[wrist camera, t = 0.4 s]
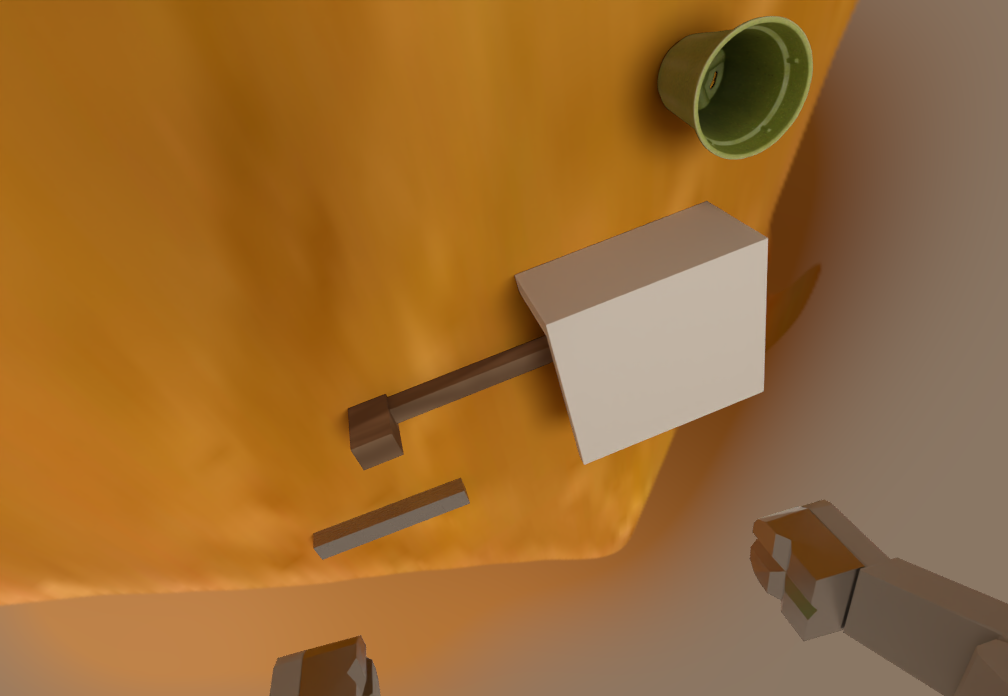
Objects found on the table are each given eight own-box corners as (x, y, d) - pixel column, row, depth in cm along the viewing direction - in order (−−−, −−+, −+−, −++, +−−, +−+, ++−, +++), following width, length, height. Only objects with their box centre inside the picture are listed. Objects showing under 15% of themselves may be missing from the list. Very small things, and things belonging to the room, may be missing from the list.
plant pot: (657, -2, 43) (722, 4, 36) (757, 18, 46) (835, 28, 39) (624, 126, 48) (676, 153, 41) (717, 137, 51) (780, 164, 44)
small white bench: (514, 275, 53) (545, 325, 45) (706, 201, 54) (767, 238, 47) (553, 407, 64) (584, 464, 56) (713, 343, 65) (763, 391, 57)
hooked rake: (330, 379, 54) (331, 420, 49) (639, 259, 56) (670, 287, 51) (375, 453, 60) (380, 495, 56) (651, 343, 62) (678, 375, 57)
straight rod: (313, 531, 65) (313, 548, 63) (460, 475, 66) (464, 490, 64) (322, 542, 66) (322, 559, 64) (465, 488, 68) (469, 503, 66)
